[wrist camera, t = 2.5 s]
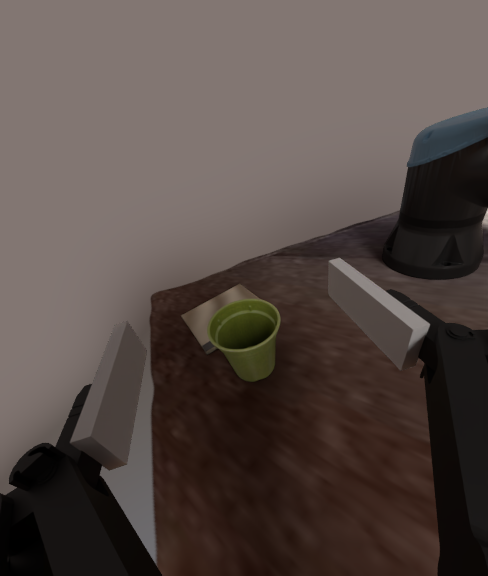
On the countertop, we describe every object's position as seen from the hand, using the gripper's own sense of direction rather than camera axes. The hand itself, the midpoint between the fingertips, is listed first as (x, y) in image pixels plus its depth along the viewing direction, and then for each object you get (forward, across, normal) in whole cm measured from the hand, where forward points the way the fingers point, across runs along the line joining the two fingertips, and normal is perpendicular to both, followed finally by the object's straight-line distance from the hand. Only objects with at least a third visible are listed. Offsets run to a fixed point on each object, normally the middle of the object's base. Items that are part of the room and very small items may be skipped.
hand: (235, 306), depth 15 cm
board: (+23, -2, -19) cm, 30 cm away
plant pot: (+10, +1, -19) cm, 22 cm away
